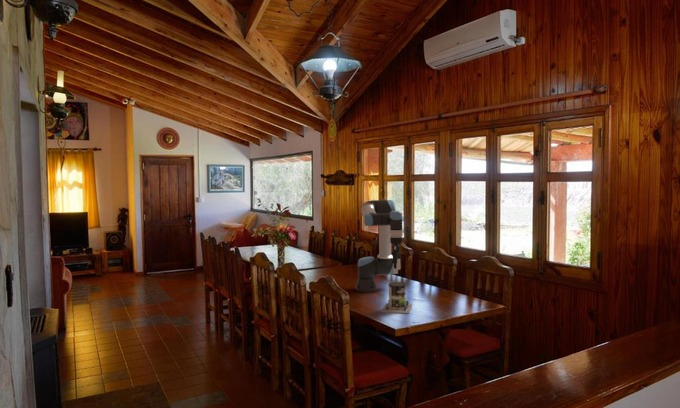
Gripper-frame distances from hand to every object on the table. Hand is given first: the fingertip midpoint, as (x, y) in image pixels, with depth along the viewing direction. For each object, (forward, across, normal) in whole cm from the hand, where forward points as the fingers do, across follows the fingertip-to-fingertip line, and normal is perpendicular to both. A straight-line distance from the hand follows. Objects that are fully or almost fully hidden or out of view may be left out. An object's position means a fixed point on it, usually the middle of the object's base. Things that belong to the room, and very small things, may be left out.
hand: (396, 271), depth 303 cm
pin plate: (+23, 0, 0) cm, 23 cm away
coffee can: (+22, 0, 0) cm, 22 cm away
